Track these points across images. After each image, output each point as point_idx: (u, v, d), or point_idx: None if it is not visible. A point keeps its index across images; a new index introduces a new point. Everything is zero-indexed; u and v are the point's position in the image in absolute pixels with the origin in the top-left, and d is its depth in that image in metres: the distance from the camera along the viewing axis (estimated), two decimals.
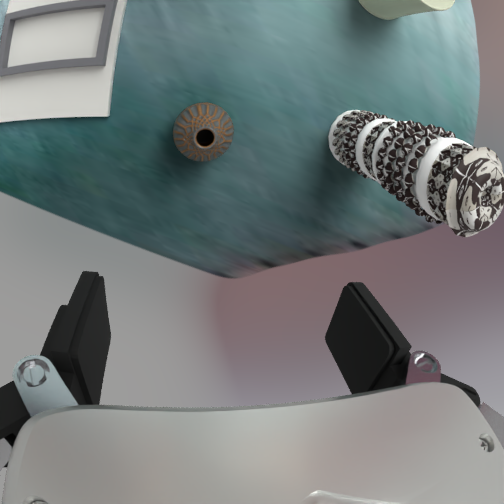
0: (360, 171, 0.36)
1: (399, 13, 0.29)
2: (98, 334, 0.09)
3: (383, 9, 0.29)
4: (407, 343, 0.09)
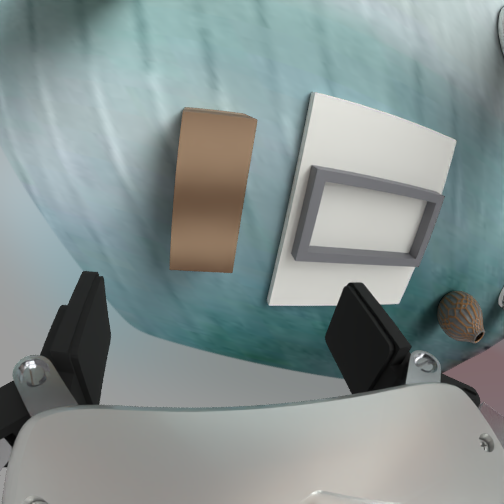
0: None
1: None
2: (98, 334, 0.09)
3: None
4: (407, 343, 0.09)
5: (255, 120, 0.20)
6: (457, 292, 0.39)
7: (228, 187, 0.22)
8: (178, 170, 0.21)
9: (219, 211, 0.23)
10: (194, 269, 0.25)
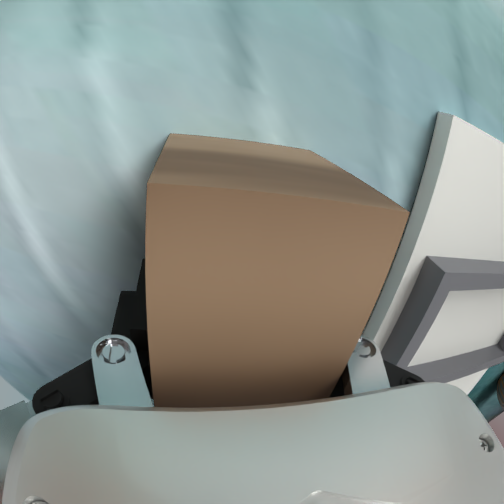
0: None
1: None
2: None
3: None
4: None
5: (403, 214, 0.06)
6: None
7: (297, 384, 0.08)
8: (157, 365, 0.07)
9: None
10: None
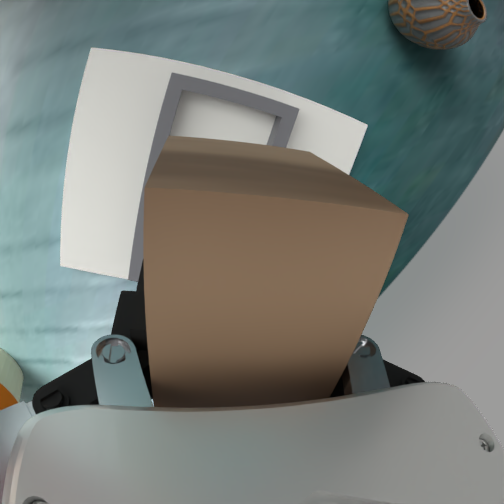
0: None
1: None
2: None
3: None
4: None
5: (402, 216, 0.06)
6: (389, 3, 0.17)
7: (296, 386, 0.08)
8: (157, 367, 0.07)
9: None
10: None
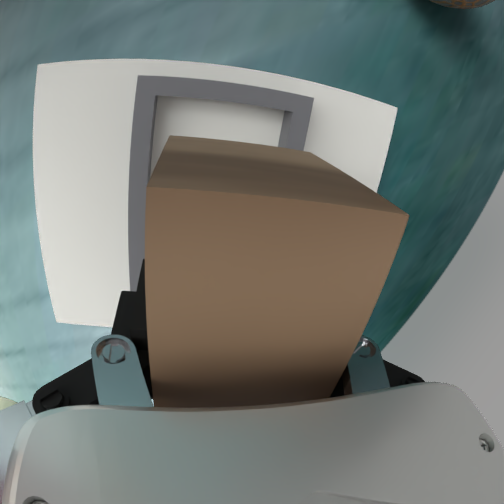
0: None
1: None
2: None
3: None
4: None
5: (403, 217, 0.06)
6: None
7: (296, 386, 0.08)
8: (157, 367, 0.07)
9: None
10: None
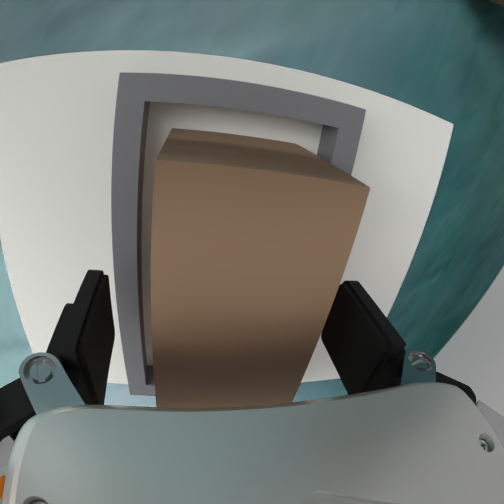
0: None
1: None
2: (103, 332, 0.09)
3: None
4: (401, 341, 0.09)
5: (365, 189, 0.07)
6: None
7: (279, 343, 0.09)
8: (157, 318, 0.08)
9: (256, 382, 0.10)
10: None
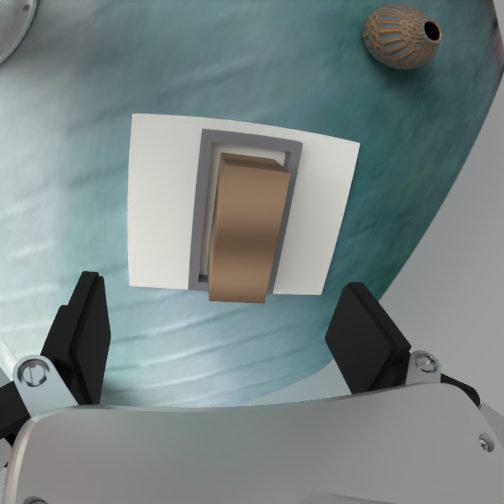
0: None
1: None
2: (98, 334, 0.09)
3: None
4: (407, 343, 0.09)
5: (289, 173, 0.24)
6: (363, 36, 0.24)
7: (263, 231, 0.26)
8: (221, 217, 0.25)
9: (255, 252, 0.26)
10: (231, 300, 0.28)
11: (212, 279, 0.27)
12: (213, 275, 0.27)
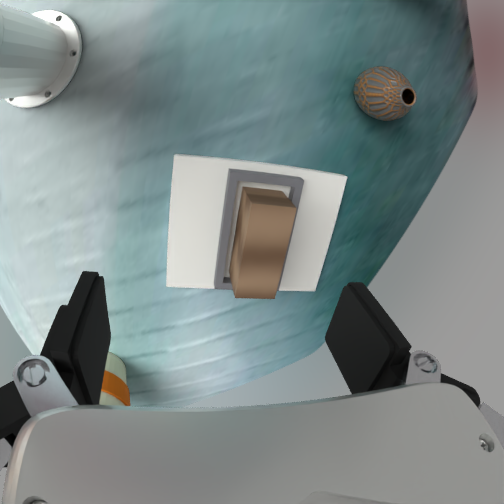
0: None
1: None
2: (98, 334, 0.09)
3: None
4: (407, 343, 0.09)
5: (295, 208, 0.34)
6: (354, 92, 0.34)
7: (276, 248, 0.36)
8: (246, 239, 0.35)
9: (270, 262, 0.37)
10: (251, 297, 0.38)
11: (238, 282, 0.37)
12: (239, 279, 0.37)
